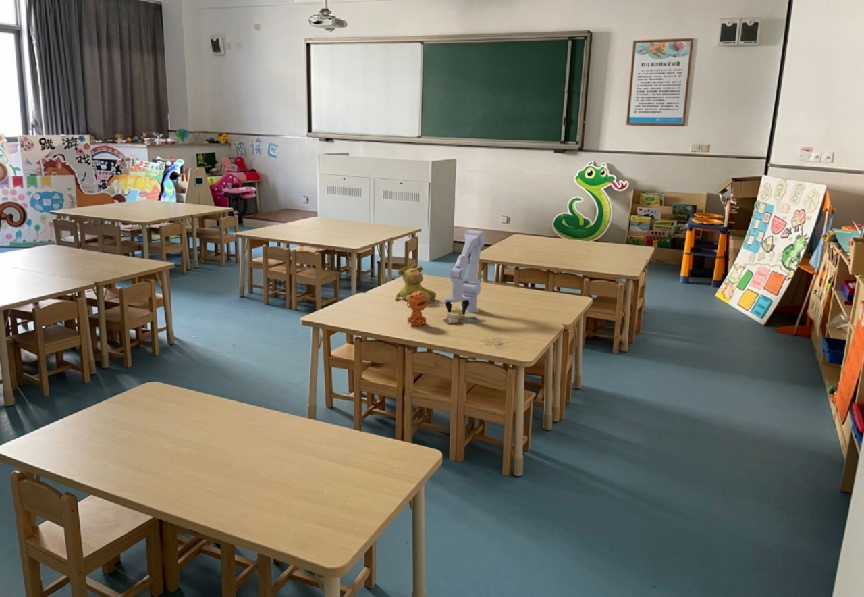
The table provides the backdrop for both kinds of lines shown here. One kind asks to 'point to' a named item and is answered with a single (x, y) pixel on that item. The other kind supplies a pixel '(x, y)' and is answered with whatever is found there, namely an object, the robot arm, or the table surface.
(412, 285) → the green plush bear
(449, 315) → the maple block
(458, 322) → the tray walnut
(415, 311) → the orange toy figurine
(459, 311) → the letter cube
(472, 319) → the tray slate
